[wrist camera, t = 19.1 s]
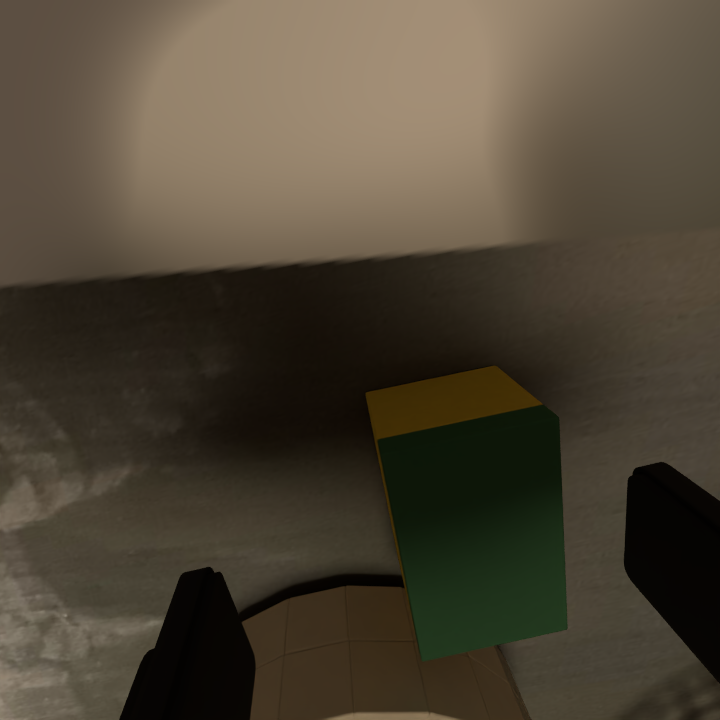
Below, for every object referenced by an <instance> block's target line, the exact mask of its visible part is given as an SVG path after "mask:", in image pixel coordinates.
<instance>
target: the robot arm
mask: <svg viewBox="0 0 720 720" xmlns="http://www.w3.org/2000/svg"><path fill="white" fill-rule="evenodd" d="M624 567H625V570H626V573H627V575H628V577H629V578H630V580H631V581H632V582H633V584H634V585H635V586H636V587H637V588H638V589H639V591H640V592H641V593H642V594H643V595H644V596H645V598H646V599H647V600H648V601H649V602H650V603H651V604H652V606H653V607H654V608H655V609H656V610H657V611H658V613H659V614H660V615H661V616H662V617H663V618H664V620H665V621H666V622H667V623H668V624H669V625H670V627H671V628H672V629H673V630H674V631H675V632H676V634H677V635H678V636H679V637H680V638H681V639H682V640H683V642H684V643H685V644H686V645H687V646H688V647H689V649H690V650H691V651H692V652H693V653H694V654H695V656H696V657H697V658H698V659H699V660H700V661H701V663H702V664H703V665H704V666H705V667H706V668H707V669H708V671H709V672H710V673H711V674H712V675H713V676H714V678H715V679H716V680H717V681H718V682H719V683H720V501H719V500H718V499H716V498H715V497H713V496H712V495H711V494H709V493H708V492H706V491H705V490H704V489H702V488H701V487H699V486H698V485H697V484H695V483H694V482H692V481H691V480H690V479H688V478H687V477H685V476H684V475H683V474H681V473H680V472H678V471H677V470H676V469H674V468H673V467H671V466H670V465H668V464H666V463H664V462H659V463H654V464H650V465H646V466H642V467H638V468H635V469H634V471H633V475H632V476H630V477H629V478H628V487H627V508H626V529H625V551H624ZM255 673H256V662H255V655H254V652H253V649H252V647H251V645H250V642H249V640H248V637H247V635H246V632H245V630H244V627H243V625H242V622H241V620H240V617H239V615H238V612H237V610H236V607H235V605H234V602H233V600H232V597H231V595H230V592H229V590H228V587H227V585H226V582H225V580H224V577H223V575H222V573H221V572H216V573H214V571H213V569H212V568H211V567H206V568H202V569H197V570H193V571H189V572H185V573H183V574H182V575H181V576H180V578H179V581H178V583H177V586H176V589H175V592H174V595H173V598H172V600H171V603H170V606H169V609H168V612H167V615H166V617H165V620H164V623H163V626H162V629H161V631H160V634H159V637H158V640H157V643H156V646H155V648H154V649H152V650H149V651H148V652H147V653H146V655H145V656H144V657H143V659H142V661H141V664H140V666H139V668H138V671H137V674H136V676H135V679H134V682H133V684H132V687H131V690H130V692H129V695H128V698H127V700H126V703H125V706H124V708H123V711H122V714H121V716H120V719H119V720H250V716H251V707H252V699H253V690H254V682H255Z"/></svg>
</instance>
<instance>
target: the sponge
mask: <svg viewBox="0 0 720 720" xmlns="http://www.w3.org/2000/svg"><path fill="white" fill-rule="evenodd" d="M365 395H366V400H367V405H368V410H369V415H370V420H371V425H372V430H373V435H374V440H375V445H376V450H377V455H378V460H379V465H380V470H381V475H382V480H383V485H384V490H385V495H386V500H387V505H388V510H389V515H390V520H391V525H392V530H393V535H394V540H395V545H396V550H397V555H398V560H399V564H400V569H401V573H402V578H403V582H404V586H405V591H406V595H407V600H408V604H409V608H410V613H411V617H412V622H413V626H414V631H415V635H416V639H417V644H418V648H419V653H420V657H421V660H422V661H423V662H424V661H428V660H433V659H437V658H442V657H446V656H451V655H455V654H459V653H464V652H468V651H473V650H477V649H482V648H486V647H491V646H495V645H500V644H504V643H509V642H513V641H518V640H522V639H527V638H531V637H535V636H540V635H544V634H549V633H553V632H558V631H562V630H567V603H566V577H565V552H564V527H563V502H562V477H561V452H560V427H559V417H558V416H557V415H556V414H555V413H553V412H552V411H551V410H550V409H548V408H547V407H546V406H545V405H542V403H541V402H540V401H538V400H537V399H536V398H535V397H533V396H532V395H531V394H530V393H529V392H527V391H526V390H525V389H524V388H523V387H521V386H520V385H519V384H518V383H516V382H515V381H514V380H513V379H512V378H510V377H509V376H508V375H507V374H505V373H504V372H503V371H502V370H501V369H499V368H498V367H497V366H490V367H485V368H480V369H475V370H471V371H466V372H461V373H456V374H451V375H447V376H442V377H437V378H432V379H427V380H423V381H418V382H413V383H408V384H404V385H399V386H394V387H389V388H384V389H380V390H375V391H370V392H366V394H365Z"/></svg>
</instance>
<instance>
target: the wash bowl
mask: <svg viewBox="0 0 720 720" xmlns="http://www.w3.org/2000/svg"><path fill="white" fill-rule="evenodd" d="M242 625H243V627H244V630H245V632H246V635H247V637H248V640H249V642H250V645H251V647H252V649H253V652H254V655H255V662H256V673H255V682H254V690H253V699H252V707H251V716H250V720H531V718H530V716H529V713H528V711H527V709H526V706H525V704H524V701H523V699H522V697H521V694H520V692H519V690H518V687H517V685H516V683H515V680H514V678H513V675H512V673H511V671H510V668H509V666H508V664H507V661H506V659H505V658H504V656H503V654H502V653H501V651H500V649H499V648H498V646H497V645H495V646H491V647H486V648H482V649H477V650H473V651H468V652H464V653H459V654H455V655H451V656H446V657H442V658H437V659H433V660H428V661H424V662H423V661H422V660H421V657H420V653H419V648H418V644H417V639H416V635H415V631H414V626H413V622H412V617H411V613H410V608H409V604H408V600H407V595H406V591H405V588H401V587H382V586H349V585H347V586H346V587H345V586H342V587H338V588H333V589H328V590H324V591H319V592H315V593H310V594H306V595H301V596H296V597H292V598H290V599H286V600H284V601H282V602H280V603H278V604H276V605H274V606H272V607H270V608H268V609H266V610H264V611H262V612H260V613H258V614H256V615H254V616H252V617H250V618H249V619H247V620H245V621H243V622H242Z"/></svg>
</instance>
